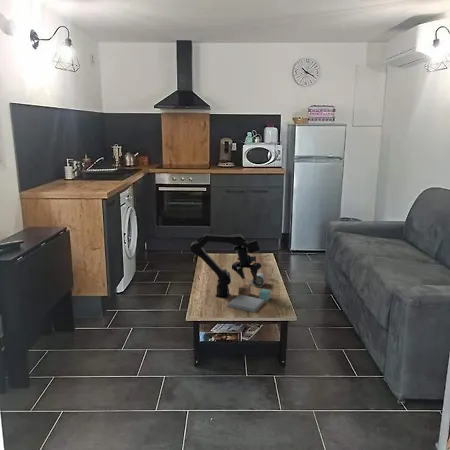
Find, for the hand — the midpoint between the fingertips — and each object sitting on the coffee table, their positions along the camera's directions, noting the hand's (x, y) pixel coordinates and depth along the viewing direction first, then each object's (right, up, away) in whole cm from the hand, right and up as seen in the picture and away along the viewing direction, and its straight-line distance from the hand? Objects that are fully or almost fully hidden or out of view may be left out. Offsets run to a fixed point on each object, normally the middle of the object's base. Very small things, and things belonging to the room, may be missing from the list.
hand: (249, 279), depth 260 cm
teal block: (+9, -11, -2) cm, 14 cm away
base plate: (-2, -13, -10) cm, 17 cm away
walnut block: (-3, -10, +4) cm, 11 cm away
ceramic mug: (+6, -6, +19) cm, 20 cm away
